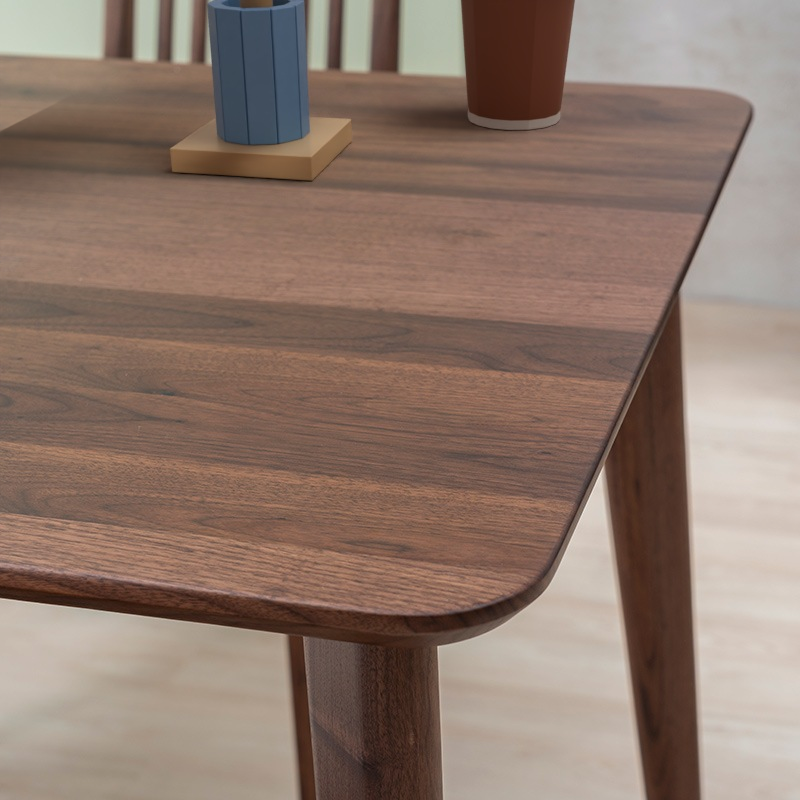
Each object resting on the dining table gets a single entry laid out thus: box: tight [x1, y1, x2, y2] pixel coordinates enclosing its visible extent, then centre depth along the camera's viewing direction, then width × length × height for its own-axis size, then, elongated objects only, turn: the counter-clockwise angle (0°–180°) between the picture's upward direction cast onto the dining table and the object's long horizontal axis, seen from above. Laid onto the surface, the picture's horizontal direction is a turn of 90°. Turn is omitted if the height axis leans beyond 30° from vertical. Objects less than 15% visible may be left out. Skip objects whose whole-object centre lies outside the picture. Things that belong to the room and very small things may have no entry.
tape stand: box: [169, 0, 353, 182], centre depth 78 cm, size 9×9×10 cm
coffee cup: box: [460, 0, 576, 131], centre depth 85 cm, size 9×9×12 cm
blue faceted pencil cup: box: [206, 0, 310, 145], centre depth 77 cm, size 6×6×8 cm
